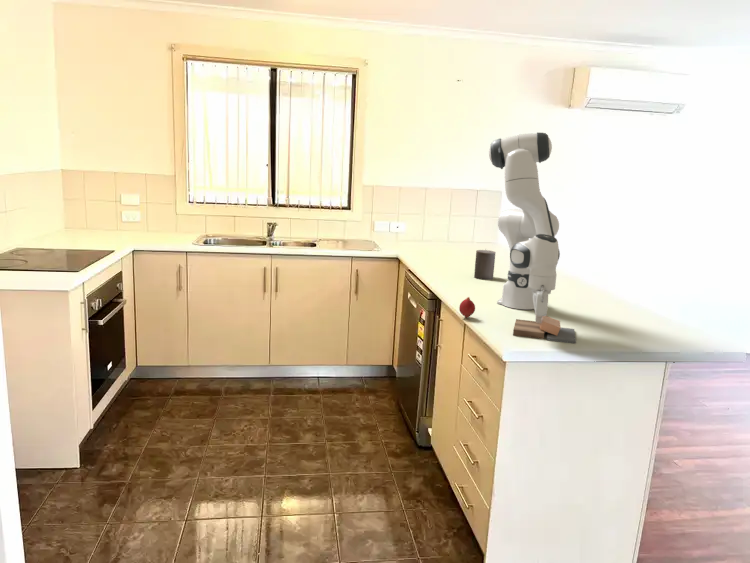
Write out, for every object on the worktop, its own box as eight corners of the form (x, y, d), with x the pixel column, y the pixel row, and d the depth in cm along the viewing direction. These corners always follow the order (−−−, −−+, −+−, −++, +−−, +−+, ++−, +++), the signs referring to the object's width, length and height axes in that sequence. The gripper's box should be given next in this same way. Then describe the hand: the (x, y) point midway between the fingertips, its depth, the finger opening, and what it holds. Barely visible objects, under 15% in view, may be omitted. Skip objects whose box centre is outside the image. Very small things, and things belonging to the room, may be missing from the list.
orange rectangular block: (539, 322, 197) (543, 314, 197) (556, 328, 196) (559, 320, 195) (539, 329, 189) (543, 321, 188) (557, 335, 188) (560, 327, 187)
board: (515, 324, 203) (516, 319, 202) (544, 327, 200) (544, 322, 199) (512, 335, 190) (513, 329, 189) (543, 338, 187) (544, 333, 186)
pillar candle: (472, 278, 283) (475, 249, 280) (475, 275, 292) (477, 246, 289) (492, 280, 281) (495, 251, 277) (494, 277, 290) (496, 248, 286)
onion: (456, 317, 209) (457, 297, 207) (462, 314, 214) (464, 294, 212) (470, 320, 206) (472, 299, 204) (476, 317, 211) (478, 296, 209)
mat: (547, 328, 200) (547, 325, 199) (574, 331, 197) (574, 328, 197) (546, 340, 186) (547, 337, 185) (575, 343, 183) (575, 341, 183)
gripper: (553, 290, 180) (549, 331, 183) (549, 278, 199) (545, 315, 202) (533, 288, 181) (529, 329, 184) (531, 276, 201) (527, 314, 203)
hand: (538, 322), depth 193 cm, fingers closed
